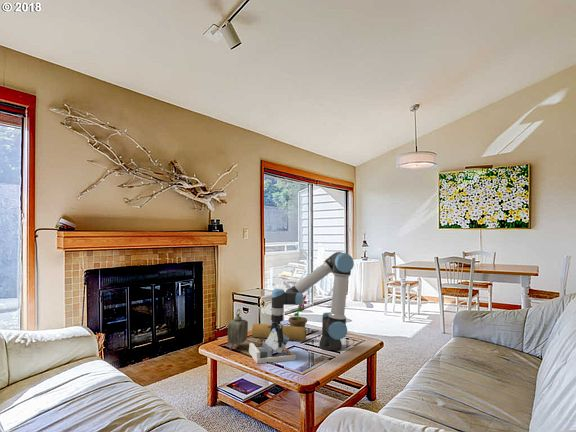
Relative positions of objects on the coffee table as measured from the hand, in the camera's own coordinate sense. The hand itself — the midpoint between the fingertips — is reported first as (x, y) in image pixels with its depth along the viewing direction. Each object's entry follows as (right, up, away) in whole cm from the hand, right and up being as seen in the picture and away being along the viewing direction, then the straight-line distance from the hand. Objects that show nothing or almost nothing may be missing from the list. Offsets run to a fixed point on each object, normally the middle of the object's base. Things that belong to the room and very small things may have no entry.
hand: (276, 349), depth 221 cm
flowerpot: (+15, -6, +50) cm, 52 cm away
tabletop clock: (-26, -4, +12) cm, 29 cm away
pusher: (-8, -3, -3) cm, 9 cm away
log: (+1, -6, +34) cm, 34 cm away
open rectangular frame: (-3, -4, -1) cm, 5 cm away
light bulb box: (-2, 0, -1) cm, 2 cm away
